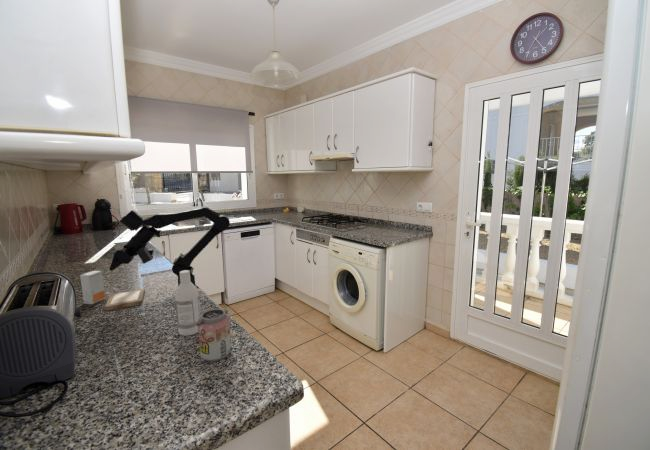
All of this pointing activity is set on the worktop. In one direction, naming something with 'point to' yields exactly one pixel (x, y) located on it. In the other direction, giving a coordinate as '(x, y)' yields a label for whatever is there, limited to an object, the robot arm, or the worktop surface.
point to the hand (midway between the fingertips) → (114, 266)
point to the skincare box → (92, 287)
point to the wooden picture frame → (125, 299)
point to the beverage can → (214, 334)
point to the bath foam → (187, 305)
